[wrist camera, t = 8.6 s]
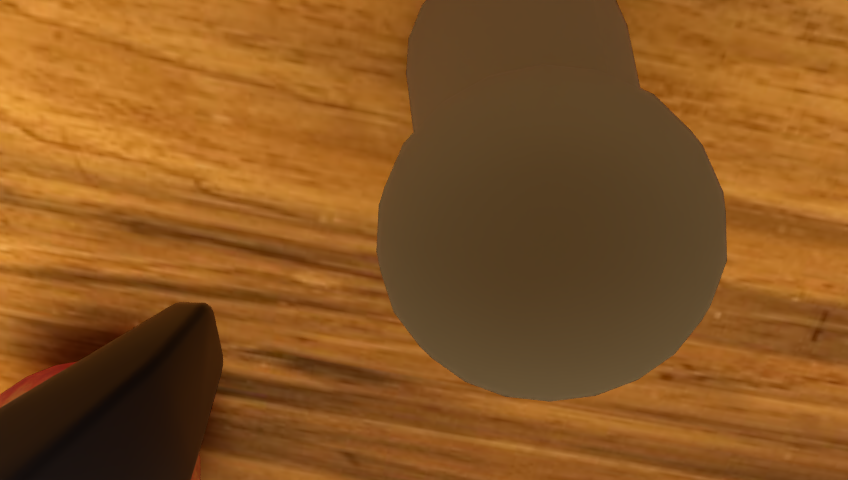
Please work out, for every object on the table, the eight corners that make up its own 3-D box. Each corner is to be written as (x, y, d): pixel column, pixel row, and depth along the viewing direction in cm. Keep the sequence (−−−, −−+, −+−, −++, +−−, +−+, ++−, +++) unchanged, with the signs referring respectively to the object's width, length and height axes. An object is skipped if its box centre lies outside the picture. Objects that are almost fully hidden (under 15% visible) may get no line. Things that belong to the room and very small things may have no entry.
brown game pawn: (495, 205, 21) (509, 513, 11) (360, 51, 19) (237, 270, 9) (673, 82, 18) (879, 338, 9) (543, -109, 16) (630, -41, 7)
